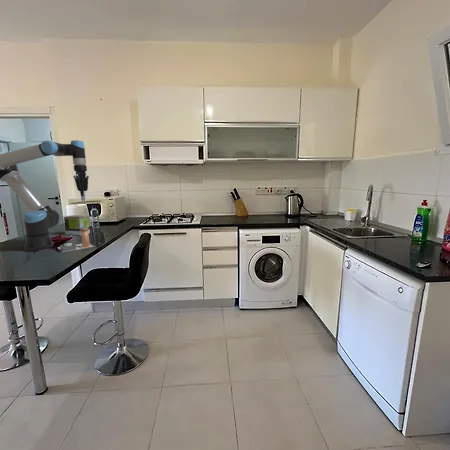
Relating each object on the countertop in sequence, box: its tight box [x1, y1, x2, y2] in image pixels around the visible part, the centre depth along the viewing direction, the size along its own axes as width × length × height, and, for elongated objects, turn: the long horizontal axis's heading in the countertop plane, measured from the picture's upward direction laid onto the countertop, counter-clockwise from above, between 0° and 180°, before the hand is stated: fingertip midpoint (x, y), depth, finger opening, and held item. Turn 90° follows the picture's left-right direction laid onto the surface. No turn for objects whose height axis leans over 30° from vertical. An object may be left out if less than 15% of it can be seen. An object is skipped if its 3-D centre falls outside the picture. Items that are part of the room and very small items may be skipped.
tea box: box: [63, 214, 91, 236], centre depth 211 cm, size 15×10×15 cm
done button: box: [63, 242, 72, 247], centre depth 162 cm, size 4×4×3 cm
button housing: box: [59, 242, 77, 253], centre depth 162 cm, size 7×7×3 cm
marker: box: [80, 228, 91, 247], centre depth 168 cm, size 4×4×12 cm
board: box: [57, 242, 96, 253], centre depth 168 cm, size 18×14×1 cm
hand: (84, 200), depth 180 cm, fingers closed
